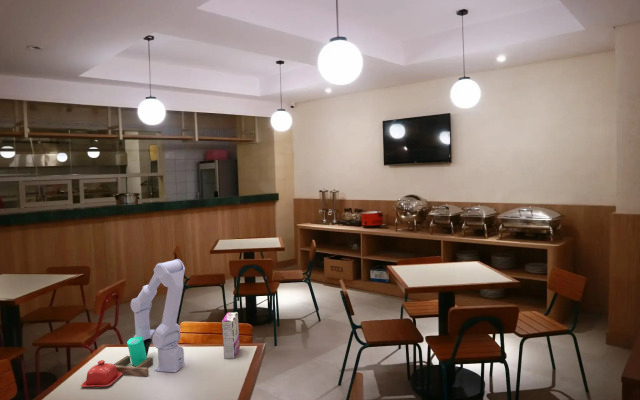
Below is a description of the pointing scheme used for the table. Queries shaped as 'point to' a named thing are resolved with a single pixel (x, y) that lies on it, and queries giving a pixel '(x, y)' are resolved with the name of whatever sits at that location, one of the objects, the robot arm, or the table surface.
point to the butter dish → (101, 375)
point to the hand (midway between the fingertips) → (144, 357)
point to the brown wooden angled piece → (134, 371)
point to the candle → (137, 351)
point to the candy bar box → (230, 335)
